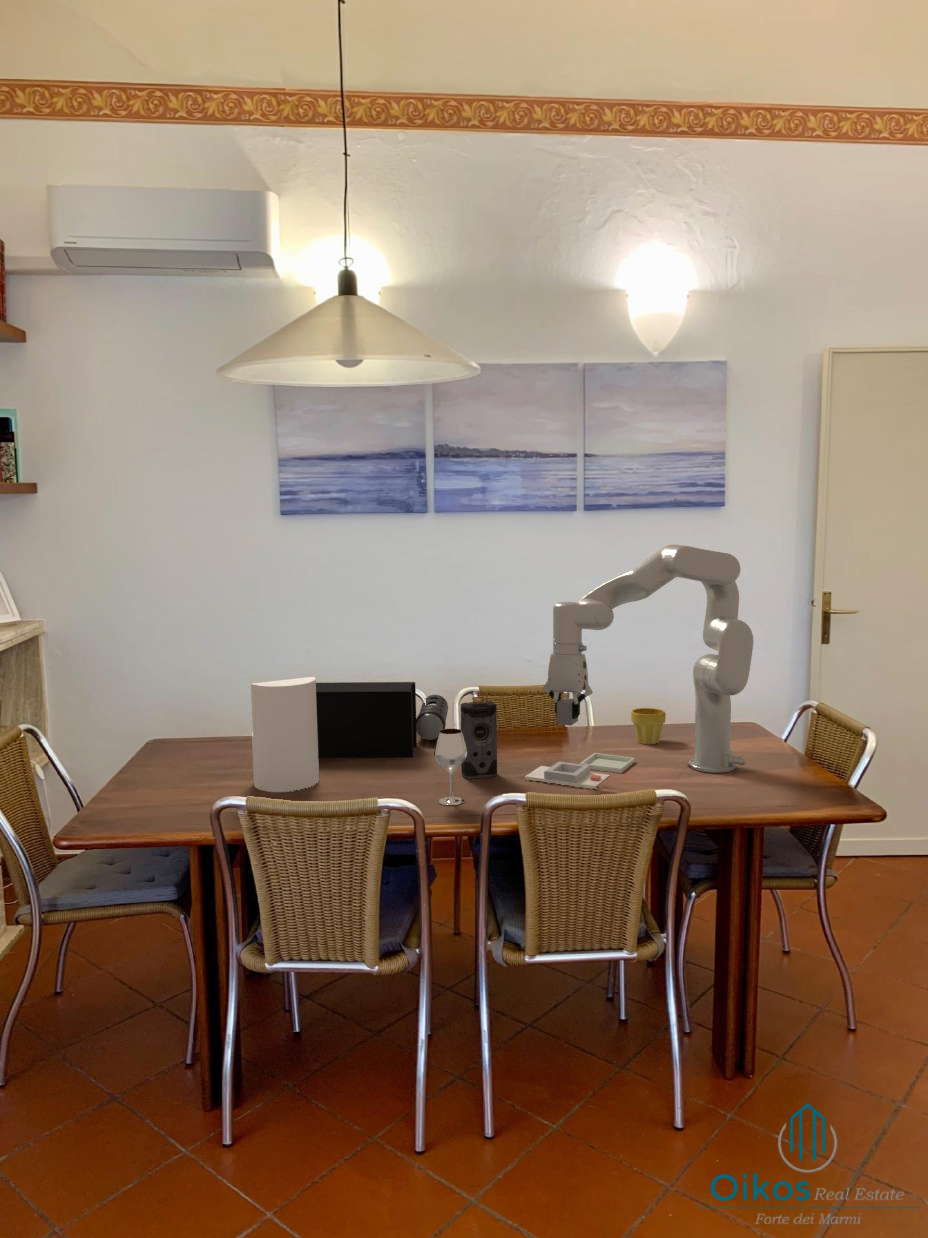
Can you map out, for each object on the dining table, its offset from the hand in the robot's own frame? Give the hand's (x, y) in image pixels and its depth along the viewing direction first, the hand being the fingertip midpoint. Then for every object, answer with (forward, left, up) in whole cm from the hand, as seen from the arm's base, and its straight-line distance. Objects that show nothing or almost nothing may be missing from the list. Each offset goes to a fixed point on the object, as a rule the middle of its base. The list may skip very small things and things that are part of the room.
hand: (567, 716), depth 243 cm
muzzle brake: (+58, -28, -18) cm, 67 cm away
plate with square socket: (0, 0, -17) cm, 17 cm away
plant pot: (-8, -47, -17) cm, 51 cm away
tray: (-6, -15, -17) cm, 24 cm away
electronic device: (+23, +7, -17) cm, 30 cm away
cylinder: (+67, +35, -17) cm, 78 cm away
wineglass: (+19, +30, -17) cm, 40 cm away
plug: (0, 0, -2) cm, 2 cm away
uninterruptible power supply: (+67, +1, -18) cm, 69 cm away
